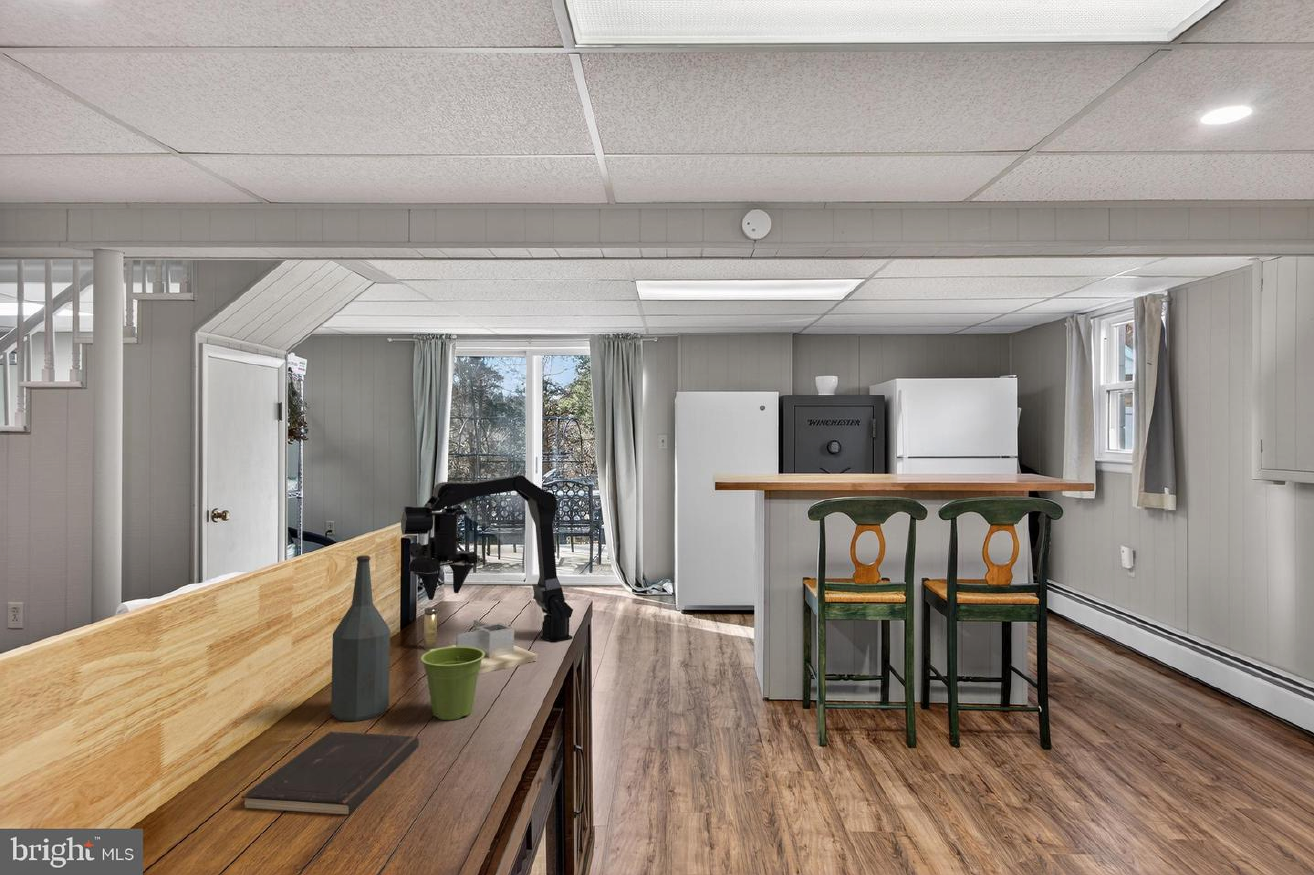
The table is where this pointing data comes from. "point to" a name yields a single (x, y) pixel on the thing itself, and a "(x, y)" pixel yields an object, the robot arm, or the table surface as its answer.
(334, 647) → the bottle
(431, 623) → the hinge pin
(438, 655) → the plant pot
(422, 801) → the table surface
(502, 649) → the beige panel with ridges
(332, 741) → the hardcover book
